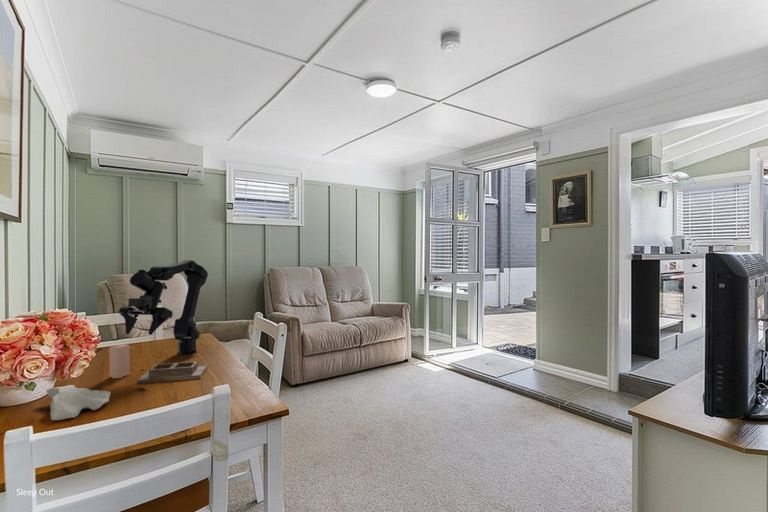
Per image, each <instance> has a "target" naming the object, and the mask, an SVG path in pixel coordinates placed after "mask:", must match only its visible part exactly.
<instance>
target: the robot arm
mask: <svg viewBox="0 0 768 512" xmlns="http://www.w3.org/2000/svg"><path fill="white" fill-rule="evenodd" d="M180 273H183V274H184V275H185V276H186V282H187V284H188V287H187V293H186V296H185V301H184V303H183V304H184V305H183V307H182V308H183V309H182V313H181V316H180V317H179V318H176V319H175V321H174V325H173V327H172V328H173V330H172V331H173V332H172V333H173V335H174V336H173V337H174V339H175V340H176V341H177V340H178V342H177V352H178V353H177V352H176V353H177V354H180V355H182V354H185V355H188V354H187V353H190V354H193V353H192V352H195V353H197V352H196V351H198V350H197V340H198V339H200V334H201V333H200V332H199V331H198V329H197V327H196V326H197V324H196V321H195V318H194V317H195V313H196V309H197V304H198V300H199V296H200V290H201V289H202V286H204V285H205V284H206V281H207V279H208V276H209V274H208V271H207V270H206V269H205V268H204V266H202V265H200V264H198V263H197V262H196V261H194V260H193V259H192V260H191V259H190V260H189V259H188V260H187V259H186V260H185V259H184V260H182V261H180V262H177V263H176V262H175V263H173V264H169V265H166V266H165V265H164V266H163V265H162V266H160V265H159V266H151V267H150V269H149V270H148V271H147V270H145V269H138V272H136V273H134V274H133V275H132V276H131V277H130V280H129V283H130V285H132V286H133V287H135V288H136V289H138V290H140V291H143V292H144V294H142V295H140V296H139V298H134V297H133V298H130V297H129V298H128V303H127V306H121V307H120V308H119V310H118V314H120V316H121V317H122V318H123V319H124V322H125V334H126V335H130V333H131V331H132V330H133V328H134V327H135V325H136V323H137V321H138V318H137V317H139V315H140V316H152V321H151V324H150V327H149V329H148V335H149V336H152V335H153V333H155V332H156V331H157V329H159V327H161V326H162V325H163V324H164V323H165V322H166V321H168V320H169V319H172V318H173V316H174V314H173V310H170V309H169V308H167V307H164V306H162V307H161V306H158V305H159V304H161V303H162V300H161V296H162V293H163V291H164V290H167V289H168V286H167V285H166V282H165V281H169V280H171V279H172V278H173V277H174V276H175V275H177V274H180ZM161 281H163V282H161Z"/></svg>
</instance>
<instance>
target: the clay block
mask: <svg viewBox="0 0 768 512" xmlns="http://www.w3.org/2000/svg"><path fill="white" fill-rule="evenodd" d="M130 350H131V347H130V345H129V344H118V345H113V346H110V347H109V378H110V377H112V378H111V379H118V378H119V379H121V378H123V376H124V377H127V376H130V375H129V374H131V371H130V369H131V367H130V365H131V364H130V363H131V362H130V361H131V360H130V358H131V357H130V355H131V353H130ZM126 375H127V376H126Z"/></svg>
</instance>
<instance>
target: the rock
mask: <svg viewBox="0 0 768 512" xmlns="http://www.w3.org/2000/svg"><path fill="white" fill-rule="evenodd" d="M46 393H47V396H49V398H51V399H52V400H51V402H50V413H49V415H50V419H51V421H61V420H66V419H72V418H73V419H74V418H76V417H77V416H79V414H80V413H81V411H82V410H88V409H90V410H92V411H96V410H98V409H100V408H101V407H103V405H105V404H107V403H108V402H109V401H110V397H111V391H109V390H98V389H95V390H91V389H89V388H86V387H79V388H78V387H76V385H75V384H68V385H64V386H58V387H57V386H56V387H50V388H48V389H47V390H46Z"/></svg>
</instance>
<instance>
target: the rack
mask: <svg viewBox="0 0 768 512" xmlns="http://www.w3.org/2000/svg"><path fill="white" fill-rule="evenodd" d="M207 369H208V366H207V365H199V366H198V361H197V360H196V361H185V362H169V363H168V362H166V363H155V364H154V365H153V366H152V367H151V368H150V369H148V370H147V371H146V372H145V373H143V375H141V376H140V377H138V379H136V384H148V383H160V382H161V383H162V382H163V383H164V382H173V381H174V382H175V381H186V380H199V379H201V378H202V377H203V375H204V374H205V372H206V371H207ZM205 370H206V371H205Z"/></svg>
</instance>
